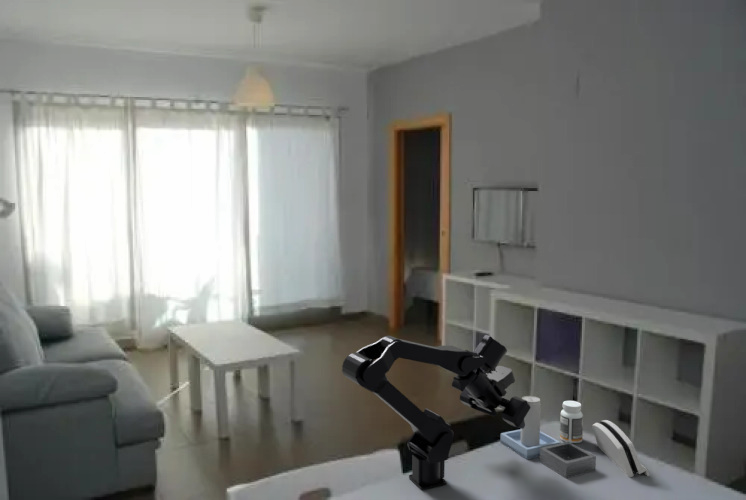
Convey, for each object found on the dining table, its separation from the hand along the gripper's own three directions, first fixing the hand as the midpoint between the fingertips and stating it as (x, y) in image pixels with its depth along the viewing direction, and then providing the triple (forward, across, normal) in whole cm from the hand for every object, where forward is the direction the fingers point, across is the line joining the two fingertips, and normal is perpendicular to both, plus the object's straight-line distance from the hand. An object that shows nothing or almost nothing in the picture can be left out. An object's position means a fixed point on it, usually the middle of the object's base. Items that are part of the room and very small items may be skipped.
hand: (509, 420), depth 144 cm
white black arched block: (+20, -17, -8) cm, 28 cm away
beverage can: (+11, 0, 0) cm, 11 cm away
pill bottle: (+21, -3, -8) cm, 23 cm away
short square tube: (+11, -12, +1) cm, 17 cm away
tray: (+12, 0, 0) cm, 12 cm away
